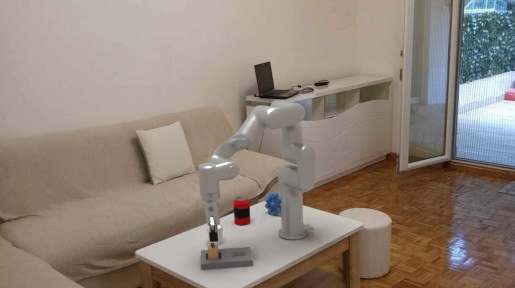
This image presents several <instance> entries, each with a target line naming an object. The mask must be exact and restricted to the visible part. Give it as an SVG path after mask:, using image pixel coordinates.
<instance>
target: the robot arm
mask: <svg viewBox="0 0 515 288" xmlns="http://www.w3.org/2000/svg"><path fill="white" fill-rule="evenodd" d="M305 115H306V110H305V107H304V106H303V105H302V104H300V103H298V102H293V101H286V100H275V101H273V102H272V103H271V104H270V105H257V106H255V107H253V109H251V112H249V114H248V116H247V117H246V119H245V120H244V122H243V123H242V124H241V126H240V128H239V129H238V130H237V132H235V134H233V135H231V136H230V137H229V138H227V139H226V140H224V141H223V142H222V143H221V144H220V145H219V146H218V147H217V148H216V149H215V151H214V152H213V153H212V155H211V157H210V158H209V160H208V162H203V163H201V164H199V165H198V167H197V173H198V174H197V175H198V182H199V183H198V185H199V194H200V195H199V196H200V201H202V202H203V203H204V212H205V218H206V225H207V227H208V226H209V231H210V232H209V238H210V242H216V241H218V232H217V231H218V228H217V225H221V219H220V218H221V217H220V206H219V200H220V199H221V192H220V191H221V190H220V182H221V181H222V182H223V181H230V180H234V179H235V178H237V176H238V175H239V173H240V166H239V165H238V164H237V162H235V161H234V160H232V159H231V157H232V156H234V155H235V154H236V153H237V152H240V151H243V150H247V149H249V148H251V147H253V146H255V145H256V143H257V142H258V140H259V139H260V137H261V136H262V134H263V133H264V131H265V130H266V129H271V130H277V129H281V133H282V134H281V135H282V137H281V140H282V141H281V157H282V158H283V160H284V161H285V162H287V163H290V164H285V165H283V166H281V167H280V168H279V171H278V173H277V180H278V181H277V182H278V185H279V190H280V196H281V213H280V215H281V220H280V221H281V222H280V223H281V228H280V229H279V230H278V233H277V234H278V236H279V237H280V238H282V239H284V240H291V241H293V240H295V241H296V240H300V239H304V238H305V237H306V236H307V235H308V234H307V233H308V231H314V230H315V226H314V225H310V224H305V223H304V201H303V200H304V197H303V192H304V193H307V192H309V191H311V190H313V188H314V185H315V184H316V175H317V153H316V150H315V148H314V147H313V146H312V145H311V144H309V143H307V142H303V127H302V124H301V122H303V120H304V119H305ZM209 238H208V239H209Z"/></svg>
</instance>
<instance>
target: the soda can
mask: <svg viewBox="0 0 515 288" xmlns="http://www.w3.org/2000/svg"><path fill="white" fill-rule="evenodd" d="M250 205H251V203H250V199H248V197H247V196H237V197H236V198H234V200H233V218H234V219H233V220H234V224H235V225H237V226H247V225H249V224H250V223H251V208H250V207H251V206H250Z"/></svg>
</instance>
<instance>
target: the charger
mask: <svg viewBox="0 0 515 288" xmlns="http://www.w3.org/2000/svg"><path fill="white" fill-rule="evenodd" d="M218 246H219V244H215V245H214V243H211V244H208V245H207V250H208V259H207V260H213V259H220V258H219V257H218V249H219V247H218Z"/></svg>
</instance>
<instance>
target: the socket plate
mask: <svg viewBox="0 0 515 288" xmlns="http://www.w3.org/2000/svg"><path fill="white" fill-rule="evenodd" d="M218 257H219V259H213V260H208V249H204V250H200V271H203V270H204V271H206V270H217V269H219V270H220V269H228V268H229V269H230V268H231V269H232V268H241V267H253V266H254V260H253V255H252V250H251V247H250V246H241V247H229V248H218Z"/></svg>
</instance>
